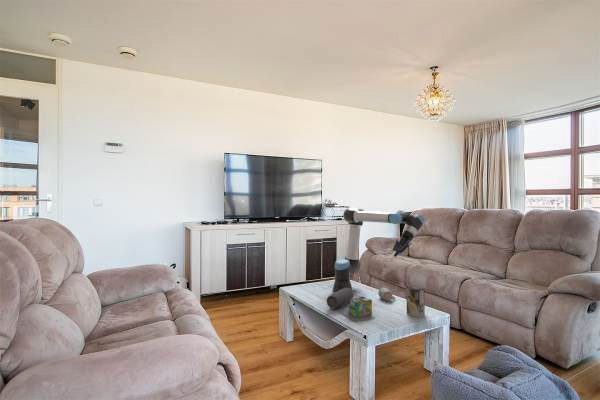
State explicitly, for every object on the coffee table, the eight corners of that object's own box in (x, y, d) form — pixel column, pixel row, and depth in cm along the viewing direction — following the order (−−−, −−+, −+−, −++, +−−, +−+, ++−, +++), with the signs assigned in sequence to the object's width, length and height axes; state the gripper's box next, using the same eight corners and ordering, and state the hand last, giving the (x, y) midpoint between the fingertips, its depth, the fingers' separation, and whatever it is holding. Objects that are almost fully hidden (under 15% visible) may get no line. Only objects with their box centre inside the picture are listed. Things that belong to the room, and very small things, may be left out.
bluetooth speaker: (342, 300, 225) (342, 285, 225) (354, 302, 220) (354, 287, 220) (325, 309, 207) (325, 293, 207) (338, 311, 201) (338, 296, 201)
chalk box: (362, 310, 203) (343, 314, 195) (362, 295, 203) (343, 300, 195) (372, 314, 195) (353, 319, 187) (372, 299, 195) (353, 304, 187)
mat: (337, 311, 202) (337, 310, 202) (355, 308, 208) (355, 307, 208) (355, 322, 183) (355, 321, 183) (375, 318, 189) (375, 317, 189)
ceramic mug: (383, 301, 220) (383, 290, 220) (378, 298, 228) (378, 287, 228) (397, 300, 222) (397, 289, 222) (391, 297, 230) (391, 286, 230)
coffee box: (425, 315, 193) (425, 288, 194) (420, 318, 189) (419, 291, 189) (411, 311, 200) (411, 286, 200) (406, 314, 196) (405, 287, 196)
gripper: (419, 238, 217) (400, 264, 210) (405, 236, 229) (387, 261, 222) (413, 230, 215) (394, 257, 208) (399, 229, 227) (381, 254, 220)
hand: (390, 259), depth 215 cm, fingers closed
